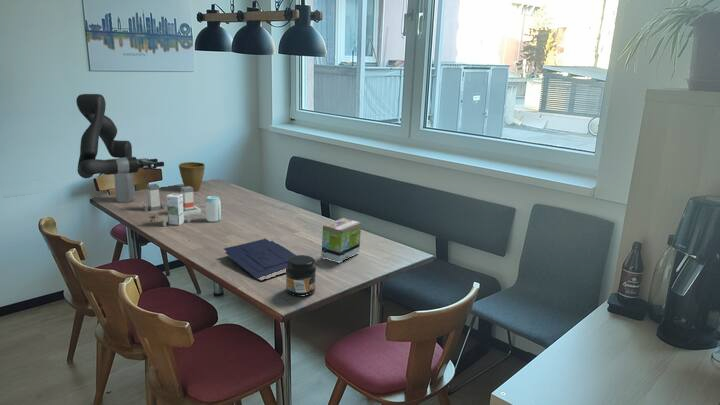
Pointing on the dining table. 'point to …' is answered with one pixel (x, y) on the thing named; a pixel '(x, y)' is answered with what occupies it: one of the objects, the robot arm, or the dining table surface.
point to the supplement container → (300, 275)
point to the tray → (192, 212)
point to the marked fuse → (187, 198)
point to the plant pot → (192, 174)
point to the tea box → (341, 239)
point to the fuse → (153, 197)
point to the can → (213, 209)
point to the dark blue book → (260, 257)
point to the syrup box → (175, 209)
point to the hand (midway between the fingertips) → (160, 162)
